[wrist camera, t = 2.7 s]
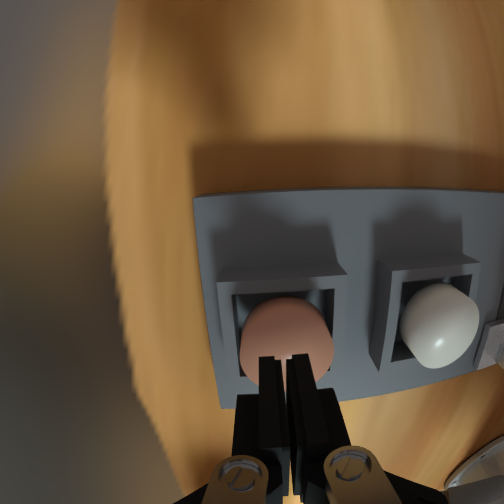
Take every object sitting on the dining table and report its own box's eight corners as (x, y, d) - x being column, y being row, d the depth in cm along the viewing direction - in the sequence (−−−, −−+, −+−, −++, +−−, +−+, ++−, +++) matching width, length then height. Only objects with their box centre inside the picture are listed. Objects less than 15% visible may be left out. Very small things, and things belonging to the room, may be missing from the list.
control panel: (524, 193, 15) (562, 201, 11) (500, 342, 19) (527, 366, 14) (202, 194, 17) (182, 201, 12) (224, 385, 20) (217, 428, 16)
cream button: (464, 278, 13) (486, 291, 11) (451, 342, 14) (468, 359, 12) (404, 285, 13) (423, 301, 11) (394, 353, 14) (408, 375, 12)
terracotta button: (326, 292, 13) (336, 311, 12) (323, 363, 14) (330, 387, 13) (238, 297, 14) (235, 317, 12) (245, 368, 15) (243, 393, 13)
